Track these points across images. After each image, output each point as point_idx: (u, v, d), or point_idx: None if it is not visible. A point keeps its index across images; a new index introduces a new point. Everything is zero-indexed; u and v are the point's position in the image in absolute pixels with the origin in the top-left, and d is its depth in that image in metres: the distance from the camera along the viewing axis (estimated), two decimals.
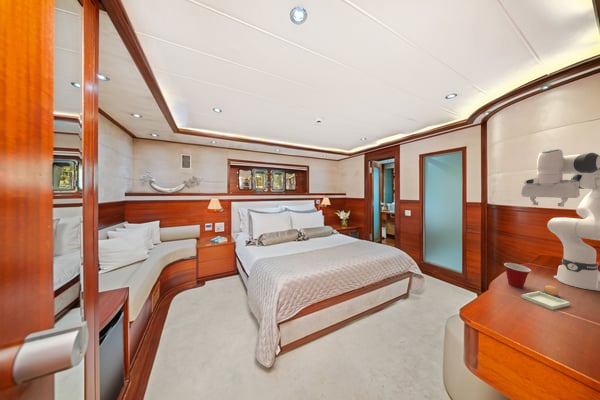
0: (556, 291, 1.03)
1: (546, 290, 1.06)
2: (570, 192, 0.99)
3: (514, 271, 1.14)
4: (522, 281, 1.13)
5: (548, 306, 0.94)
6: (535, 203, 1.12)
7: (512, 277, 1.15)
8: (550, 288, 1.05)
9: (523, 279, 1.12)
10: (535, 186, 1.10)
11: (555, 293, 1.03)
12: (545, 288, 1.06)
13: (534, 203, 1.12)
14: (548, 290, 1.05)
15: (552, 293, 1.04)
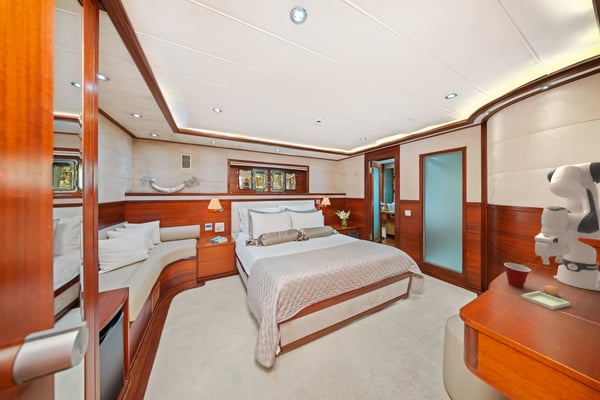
0: (556, 291, 1.03)
1: (546, 290, 1.06)
2: (568, 249, 1.05)
3: (514, 271, 1.14)
4: (522, 281, 1.13)
5: (548, 306, 0.94)
6: (548, 262, 1.03)
7: (512, 277, 1.15)
8: (550, 288, 1.05)
9: (523, 279, 1.12)
10: (554, 245, 1.01)
11: (555, 293, 1.03)
12: (545, 288, 1.06)
13: (548, 263, 1.03)
14: (548, 290, 1.05)
15: (552, 293, 1.04)
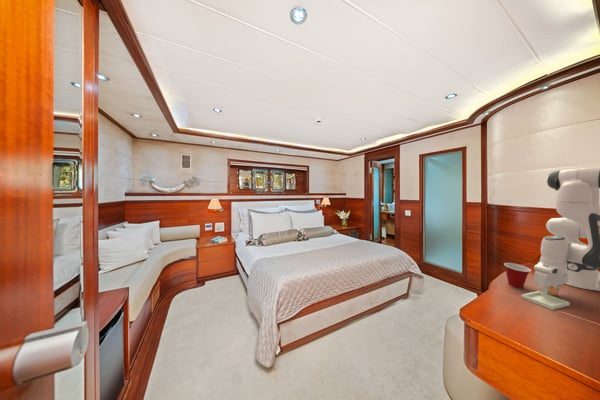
0: (556, 291, 1.03)
1: None
2: (567, 278, 1.05)
3: (514, 271, 1.14)
4: (522, 281, 1.13)
5: (548, 306, 0.94)
6: (548, 292, 1.04)
7: (512, 277, 1.15)
8: (550, 288, 1.05)
9: (523, 279, 1.12)
10: (553, 275, 1.02)
11: (555, 293, 1.03)
12: None
13: (548, 292, 1.03)
14: (548, 290, 1.05)
15: (552, 293, 1.04)
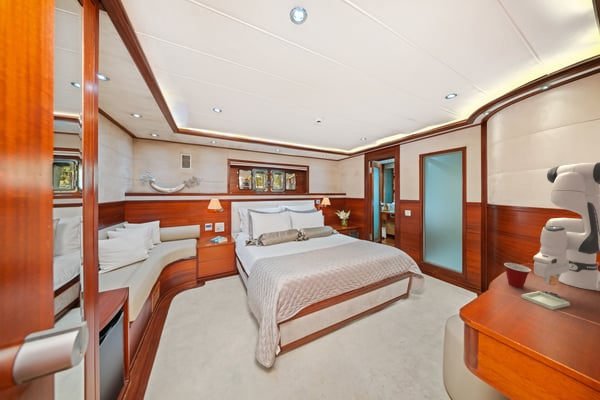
0: (556, 281, 1.04)
1: None
2: (567, 267, 1.06)
3: (514, 271, 1.14)
4: (522, 281, 1.13)
5: (548, 306, 0.94)
6: (549, 281, 1.05)
7: (512, 277, 1.15)
8: (550, 278, 1.05)
9: (523, 279, 1.12)
10: (553, 265, 1.02)
11: (555, 283, 1.04)
12: None
13: (549, 281, 1.05)
14: None
15: (552, 283, 1.04)
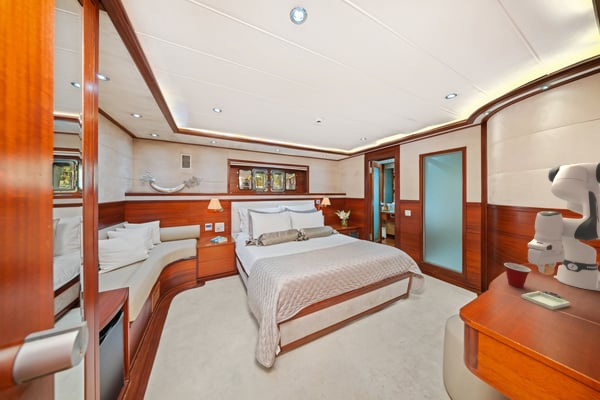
0: (551, 270, 0.97)
1: None
2: (563, 256, 0.99)
3: (514, 271, 1.14)
4: (522, 281, 1.13)
5: (548, 306, 0.94)
6: (544, 270, 0.98)
7: (512, 277, 1.15)
8: (545, 267, 0.98)
9: (523, 279, 1.12)
10: (548, 252, 0.96)
11: (550, 272, 0.97)
12: None
13: (544, 270, 0.97)
14: None
15: (547, 272, 0.97)
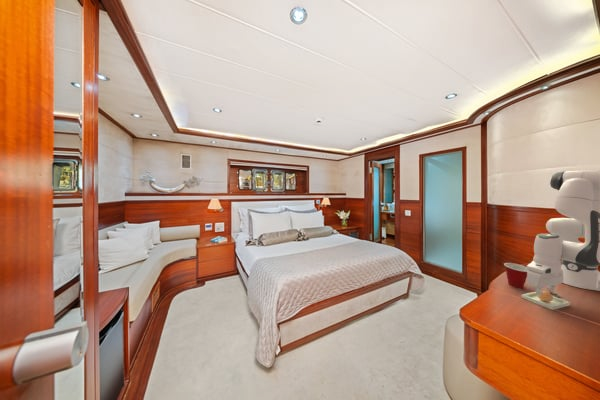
0: (550, 297, 0.98)
1: (540, 296, 1.00)
2: (562, 278, 1.00)
3: (514, 271, 1.14)
4: (522, 281, 1.13)
5: (548, 306, 0.94)
6: None
7: (512, 277, 1.15)
8: (543, 294, 0.99)
9: (523, 279, 1.12)
10: (547, 275, 0.96)
11: (549, 299, 0.98)
12: None
13: (541, 293, 0.98)
14: (542, 296, 0.99)
15: (546, 299, 0.98)
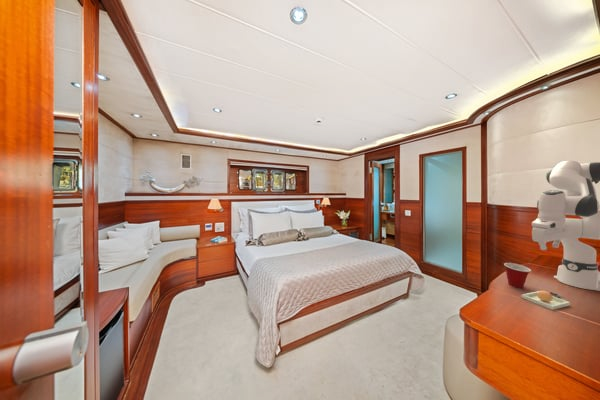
0: (550, 297, 0.97)
1: (539, 296, 1.00)
2: (565, 233, 1.02)
3: (514, 271, 1.14)
4: (522, 281, 1.13)
5: (548, 306, 0.94)
6: (546, 248, 1.01)
7: (512, 277, 1.15)
8: (543, 294, 0.99)
9: (523, 279, 1.12)
10: (551, 230, 0.99)
11: (549, 299, 0.98)
12: (538, 294, 1.01)
13: (545, 248, 1.01)
14: (542, 296, 0.99)
15: (546, 299, 0.98)
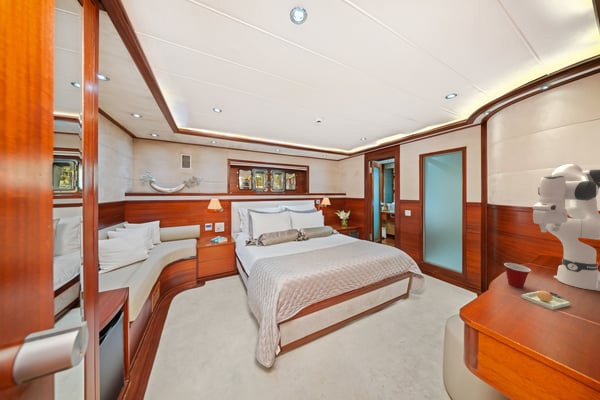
0: (550, 297, 0.97)
1: (539, 296, 1.00)
2: (566, 217, 1.06)
3: (514, 271, 1.14)
4: (522, 281, 1.13)
5: (548, 306, 0.94)
6: (546, 230, 1.04)
7: (512, 277, 1.15)
8: (543, 294, 0.99)
9: (523, 279, 1.12)
10: (552, 212, 1.02)
11: (549, 299, 0.98)
12: (538, 294, 1.00)
13: (546, 230, 1.04)
14: (542, 296, 0.99)
15: (546, 299, 0.98)
